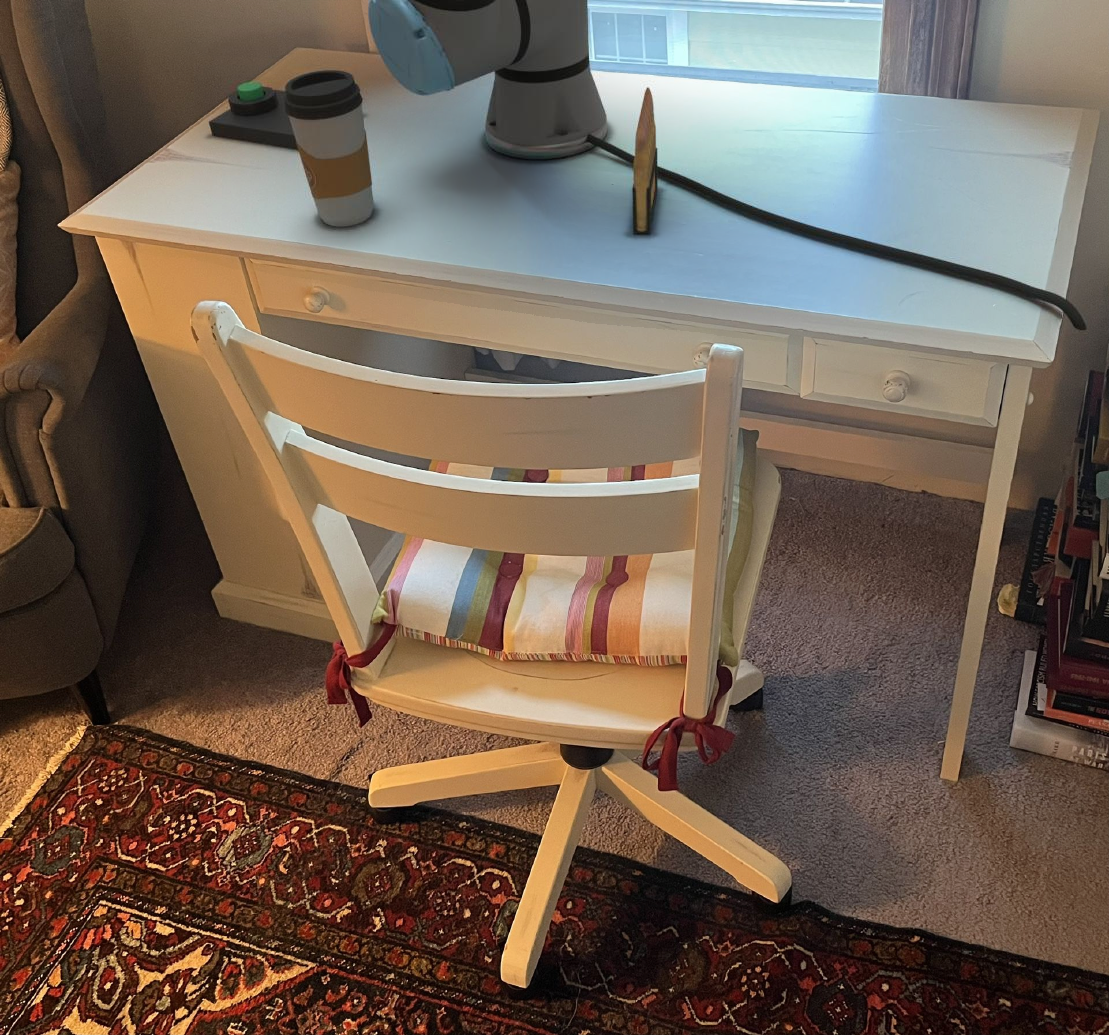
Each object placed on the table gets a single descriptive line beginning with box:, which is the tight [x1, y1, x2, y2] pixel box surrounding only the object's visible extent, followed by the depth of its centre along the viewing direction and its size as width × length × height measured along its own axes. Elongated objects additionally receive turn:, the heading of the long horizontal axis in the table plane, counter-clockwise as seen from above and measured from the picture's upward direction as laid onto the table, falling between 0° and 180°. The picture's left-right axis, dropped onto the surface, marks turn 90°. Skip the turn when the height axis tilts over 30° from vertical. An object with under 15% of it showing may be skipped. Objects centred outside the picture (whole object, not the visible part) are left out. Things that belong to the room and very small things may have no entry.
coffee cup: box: [284, 69, 375, 228], centre depth 120 cm, size 8×8×15 cm
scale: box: [208, 85, 298, 150], centre depth 144 cm, size 16×12×4 cm
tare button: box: [237, 81, 264, 101], centre depth 145 cm, size 3×3×2 cm
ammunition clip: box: [631, 87, 659, 235], centre depth 116 cm, size 11×2×12 cm, turn 172°
